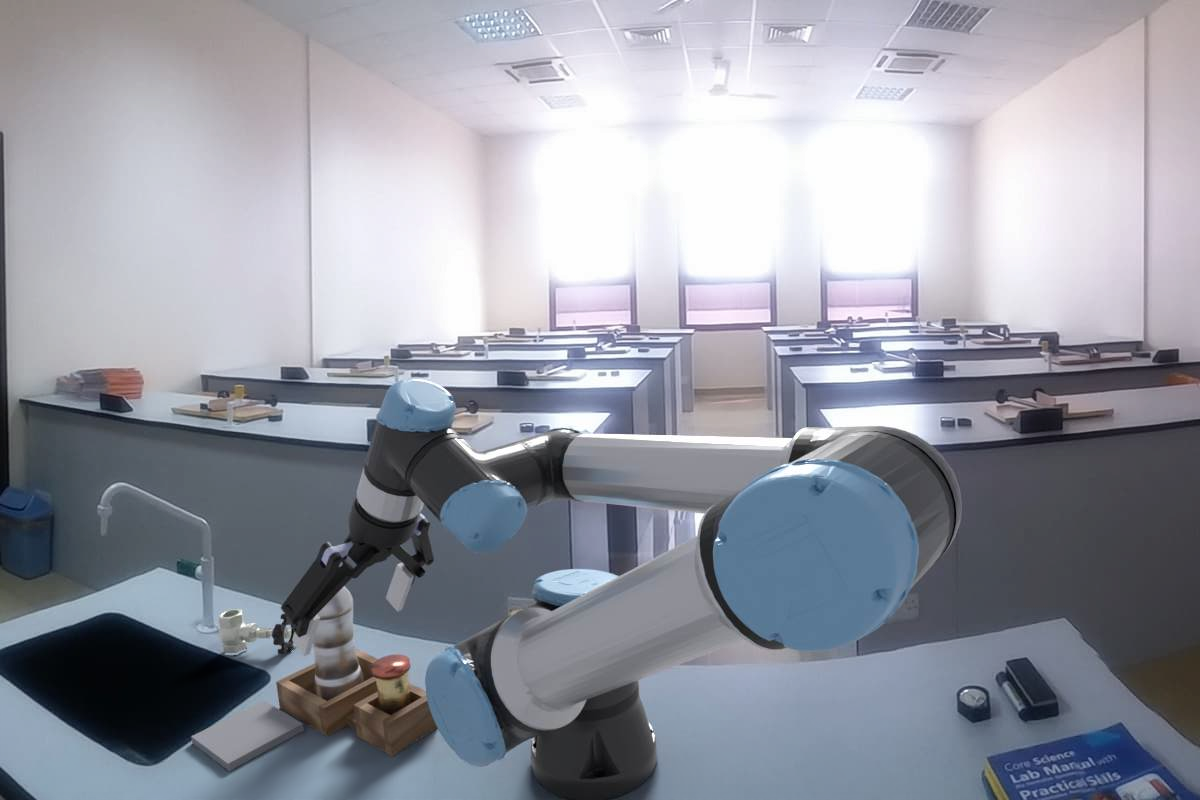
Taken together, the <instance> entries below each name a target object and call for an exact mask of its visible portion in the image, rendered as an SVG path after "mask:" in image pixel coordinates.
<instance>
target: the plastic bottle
mask: <svg viewBox="0 0 1200 800" xmlns="http://www.w3.org/2000/svg"><path fill="white" fill-rule="evenodd" d="M318 616H319V617H320V620H319V623H318V627H317V630H316V634H315V637H314V641H313V644H312V648H313V652H314V654H313V655H314V663H315V680H314V690H315V693H316V696H318V697H320V698H322V699H324V700H325V701H328V700H330V699H332V698H334V697H336V696H338V695H340V694H342V693H344V692H345V691H347V690H349V689H351V688H353V687H355V686H357V685H359V684H361V683H363V682H364V677H363V674H362V670H361V668H360V665H359V663H358V658H357V654H356V649H357V648H356V646H355V637H354V598H353V595H352V594H351V592H350V591H349V589H348V588H347V587H346V585H345V586H344V587H343V588H342V589H341V590H340V591H339V592H338V593H337V594H336V595H335V596H334V597H333V598H332V599H331V600H330V601H329V602H328V603H327V604H326V605H325V606H324V608H323V609H322V610H321V611H320V612H319V613H318Z"/></svg>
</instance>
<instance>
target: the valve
mask: <svg viewBox="0 0 1200 800" xmlns="http://www.w3.org/2000/svg"><path fill="white" fill-rule="evenodd" d="M280 620H282V622H281V623H276V624H275V625H274V628H273V629H272V627H265V626H264V627H259V624H257V623H256V622H254V623H253V622H252V623H251V622H250V623H247V624H246V623H245V621H244V615H243V609H239V608H233V609H228V610H224V611H222V612H221V613H220V614H219V615H218V622H219V631H218V638H219V641H220V642H221V644H222V649H223V654H224V653H237V652H239V651H241V650H244V649H246V646H247V647H248V643H255V642H256V641H257V639H271V638H272V639H273V645H274V646H280V648H278V649H277V654H278V655H285V654H286V652H291V651H292V650H293V649H294V650H295V647H294V642H293V641H292V639H293V635H294V630H293V629H292V623H291V621H290V620H289V619H288V617H287V616H286V615H285V613H281V615H280ZM286 626H290V627H286ZM285 639H288V642H287V641H285ZM294 650H293V651H294ZM291 653H292V652H291Z"/></svg>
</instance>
